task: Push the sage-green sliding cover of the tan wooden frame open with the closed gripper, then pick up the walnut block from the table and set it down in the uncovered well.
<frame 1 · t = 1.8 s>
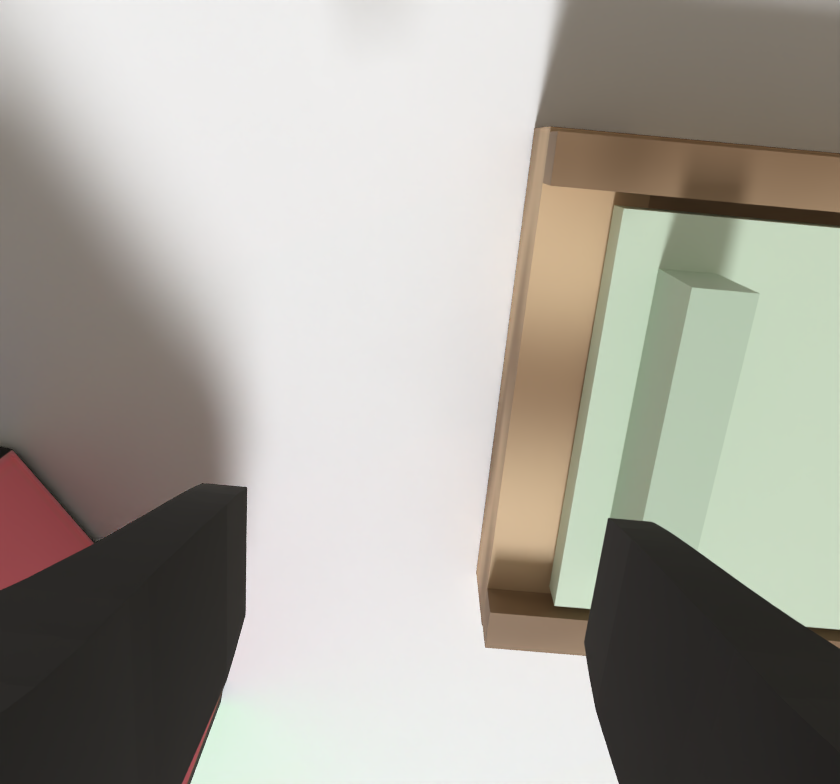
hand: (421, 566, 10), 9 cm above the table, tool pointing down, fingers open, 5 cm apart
puzzle cube: (4, 641, 22), on the table
cover: (781, 453, 15), point 4 cm above the table, slide at 0.0 cm
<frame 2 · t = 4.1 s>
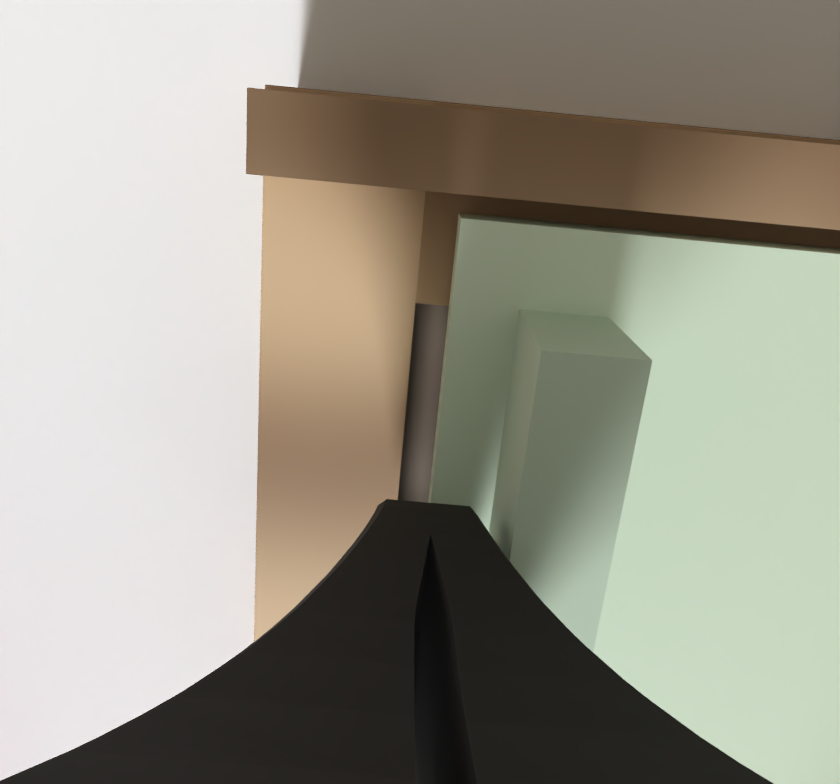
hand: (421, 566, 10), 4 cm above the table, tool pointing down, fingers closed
tan wooden frame: (751, 474, 14), on the table
cover: (709, 581, 10), point 4 cm above the table, slide at 1.2 cm, touching gripper
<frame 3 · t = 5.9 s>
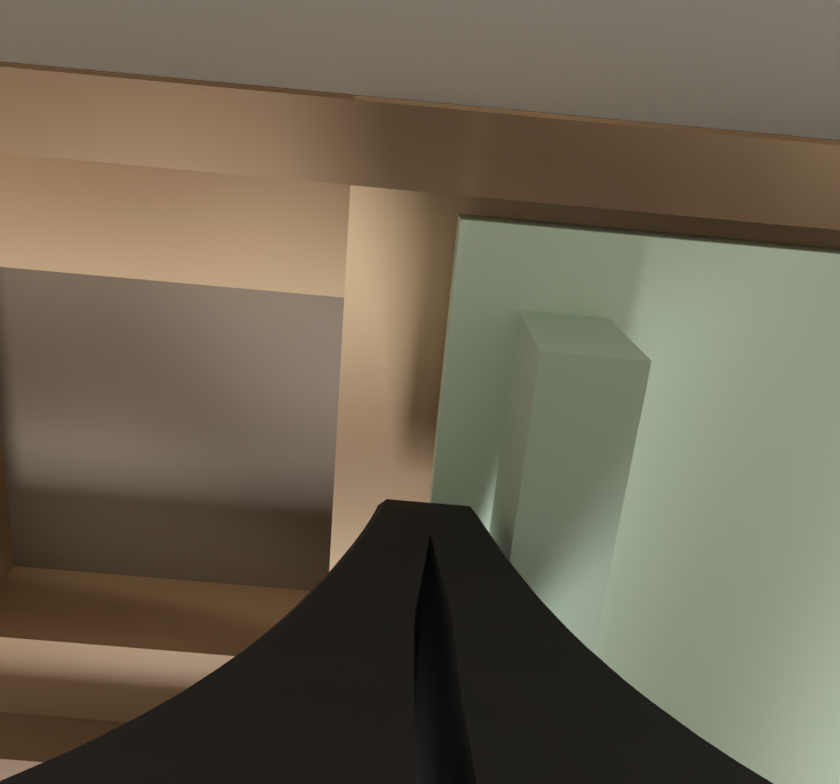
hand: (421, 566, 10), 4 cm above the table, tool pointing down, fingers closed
tan wooden frame: (362, 440, 14), on the table
cover: (709, 580, 10), point 4 cm above the table, slide at 8.8 cm, touching gripper
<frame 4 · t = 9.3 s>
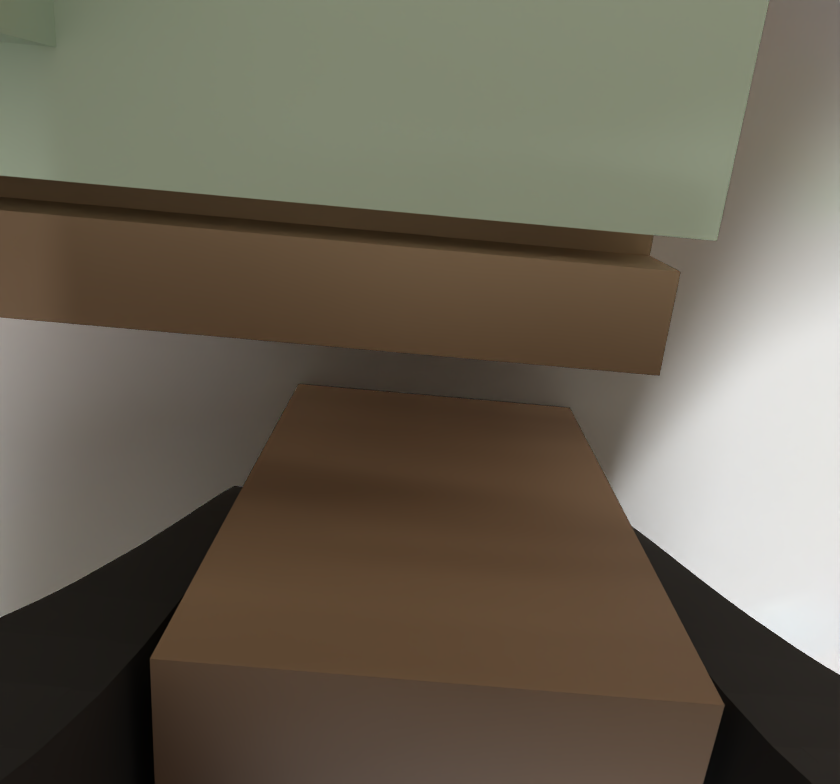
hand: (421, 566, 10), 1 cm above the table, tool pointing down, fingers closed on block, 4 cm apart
block: (422, 516, 11), on the table, touching gripper
when the fingers open (4 cm above the table, at t = 12.4 s): block stays where it is, resting on tan wooden frame.
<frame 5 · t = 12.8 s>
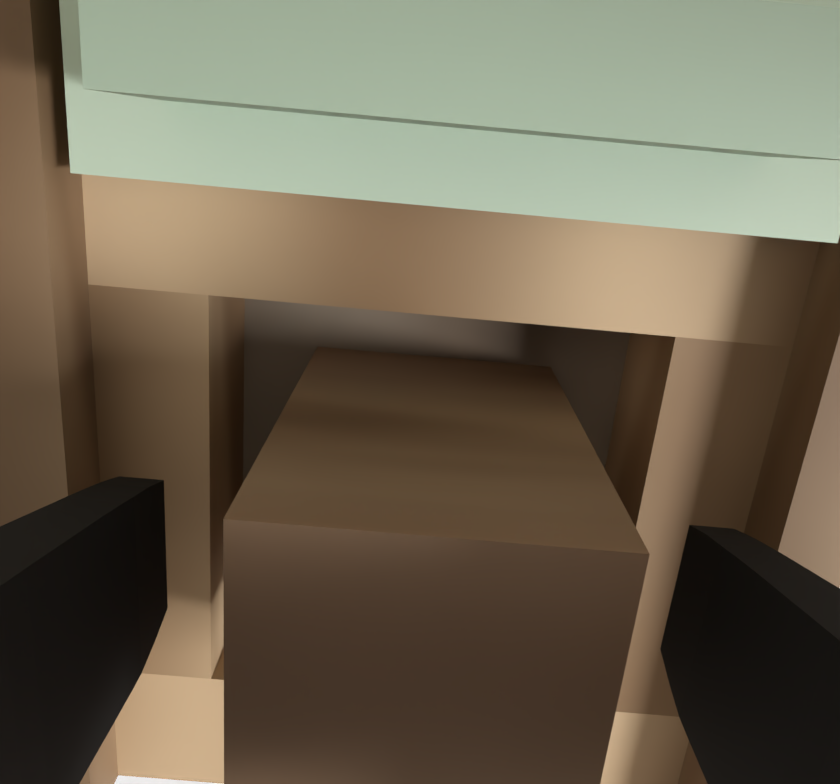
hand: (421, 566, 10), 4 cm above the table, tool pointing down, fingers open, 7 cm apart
tan wooden frame: (442, 269, 12), on the table
block: (424, 463, 13), resting on tan wooden frame
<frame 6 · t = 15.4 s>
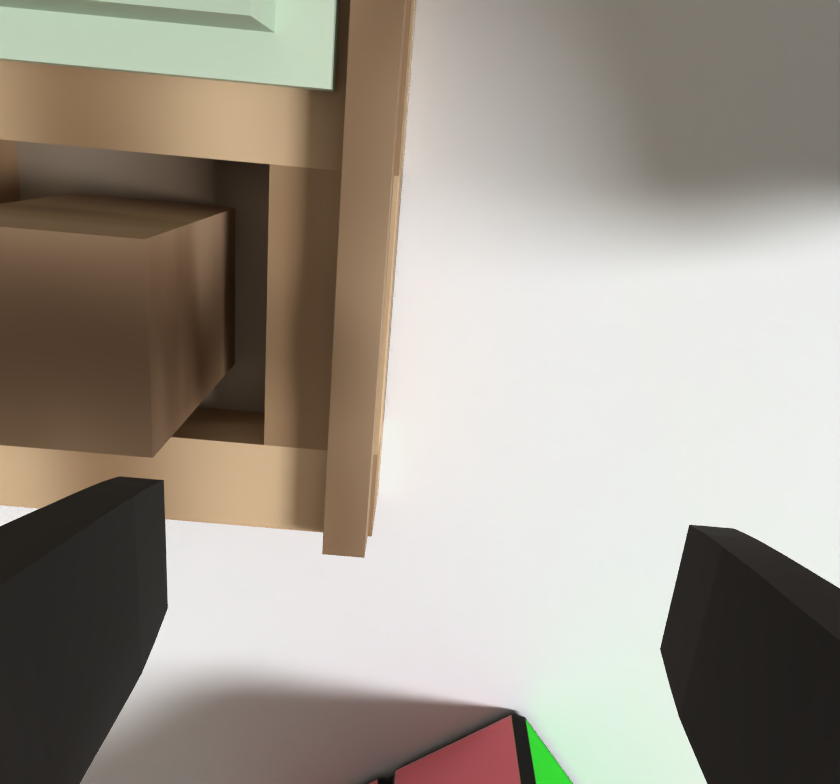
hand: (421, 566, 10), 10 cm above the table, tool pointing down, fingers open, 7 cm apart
tan wooden frame: (156, 137, 18), on the table
block: (156, 281, 19), resting on tan wooden frame
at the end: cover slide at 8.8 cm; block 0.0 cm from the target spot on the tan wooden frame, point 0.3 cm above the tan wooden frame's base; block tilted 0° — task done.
